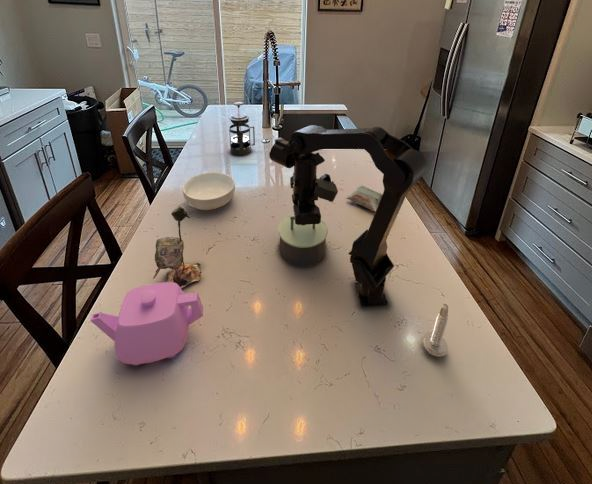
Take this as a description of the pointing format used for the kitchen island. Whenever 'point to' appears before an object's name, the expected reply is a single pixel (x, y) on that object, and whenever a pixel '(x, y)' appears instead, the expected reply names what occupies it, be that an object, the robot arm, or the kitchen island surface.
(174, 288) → the teapot
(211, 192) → the cereal bowl
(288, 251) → the container
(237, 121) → the french press
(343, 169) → the kitchen island surface
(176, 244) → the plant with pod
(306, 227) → the lid
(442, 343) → the screw
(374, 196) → the packaged food
